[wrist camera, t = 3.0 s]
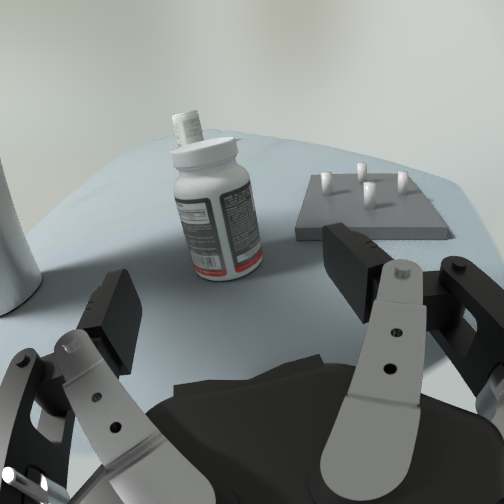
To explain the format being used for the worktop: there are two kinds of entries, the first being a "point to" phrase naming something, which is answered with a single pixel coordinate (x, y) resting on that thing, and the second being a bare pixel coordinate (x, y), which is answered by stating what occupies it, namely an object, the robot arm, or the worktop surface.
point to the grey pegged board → (369, 207)
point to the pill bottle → (216, 209)
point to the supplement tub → (187, 128)
